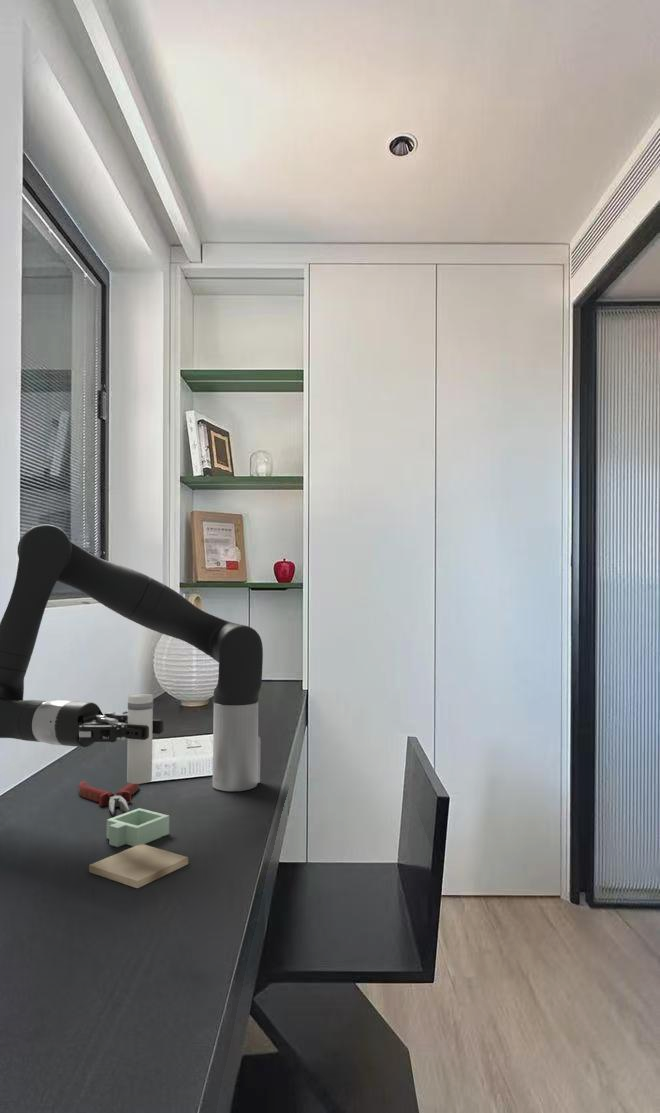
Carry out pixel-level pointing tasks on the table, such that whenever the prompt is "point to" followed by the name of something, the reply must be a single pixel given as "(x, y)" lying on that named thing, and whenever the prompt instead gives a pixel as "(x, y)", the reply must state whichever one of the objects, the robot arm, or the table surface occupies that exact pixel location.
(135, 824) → the collar
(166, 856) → the oak pad
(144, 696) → the thermos bottle
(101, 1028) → the table surface
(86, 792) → the pliers
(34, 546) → the robot arm
